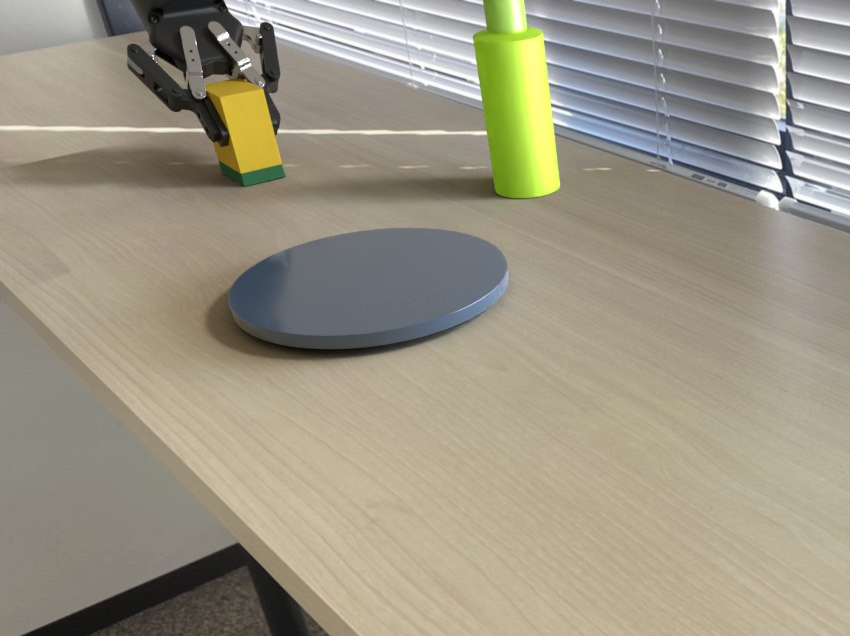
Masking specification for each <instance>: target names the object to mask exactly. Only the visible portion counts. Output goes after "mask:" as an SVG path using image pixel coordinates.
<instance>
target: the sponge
mask: <svg viewBox="0 0 850 636" xmlns="http://www.w3.org/2000/svg"><path fill="white" fill-rule="evenodd" d="M204 84H205V89H206V94H207V95H206V97H207V99H211V100H212V102H213V104H214V106H215V108H216V110H217V112H218V113H219V115H220V117H221V119H222V121H223V123H224V125H225V126H226V128H227V130H228V133H229V145H228V146H225V147H220V146H219V144H218V142H212V143H213V147H214V150H215V154H216V157H217V160H218V164H219V167H220V172H221V174H223V175H224V176H226V177H228V178H229V179H231V180H233V181H235V182H236V183H238V184H239V185H241V186H243V187H249V186H253V185H257V184H261V183H265V181H266V182H269V181H268V180H270V181H273V180H272V179H274V180H277V179H276V178H278V179H280V178H279V177H282V178H284V177H283V176H285V177H286V173H285V170H284V165H283V161H282V158H281V154H280V150H279V146H278V141H277V138H276V136H275V134H274V130H273V126H272V122H271V118H270V114H269V110H268V106H267V102H266V98H265V94H264V90H263V89H262V88H260V87H258V86H256V85H254V84H252V83H249V82H247V81H245V80H243V79H241V78H239V79H237V78H235V79H225V80H220V81H214V82H210V83H204Z"/></svg>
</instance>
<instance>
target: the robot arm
mask: <svg viewBox="0 0 850 636" xmlns="http://www.w3.org/2000/svg"><path fill="white" fill-rule="evenodd" d="M129 1H130V3H131V6H132V7H133V8H134V11H135V12H136V15H137V16H138V18H139V20H140V22H141V24H142V25H143V28H144V29H145V31H146V32H147V34H148V41H147V42H145V43H143V44H141V45H139V44H138V43H129V44H128V45H127V46H126V67H127V69H128V71H130V72H131V73H132V74H133V75H134V76H135V77H136V78H137V79H138V80H139V81H140V82H141V83H142V84H143V85H144V86H145V87H146V88H147V89H148V90H150V91H151V92H152V94H153V95H155V96H156V97H157V99H158V100H159V101H160V102H162V104H164V105H165V106H166V108H168V109H169V110H170V111H171V112H174V113H180V112H181V111H182V110H183V111H190V112H192V113H193V114H194V115H195V116H196V118H197V119H198V121H199V123H200V125H201V127H202V128H203V131H204V133H205V135H206V136H207V138H208V139H209V140H210V141H211V142H212V143H213V142H218V144H219V146H220V147H225V146H228V145H229V133H228V130H227V128H226V126H225V125H224V123H223V121H222V119H221V117H220V115H219V113H218V112H217V110H216V108H215V106H214V104H213V102H212V100H211V99H207V97H206V95H207V94H206V89H205V84H206V83H205V80H204V79H207V78H209V77H212V76H214V75H215V76H223V75H225V77H226V78H227V79H228V80H230V79H235V78H237V79H239V78H241V79H243V80H245V81H247V82H249V83H252V84H254V85H256V86H258V87H260V88H262V89H263V90H264V94H265V98H266V102H267V106H268V110H269V114H270V118H271V122H272V126H273V130H274V134H275V137H276V136H277V135H278V131H279V129H280V124H281V113H280V112H279V110H278V107H277V106H276V104H275V102H274V100H273V98H272V96H271V95H270V94H275V93H277V92H278V90H279V82H280V78H281V67H280V61H279V54H278V48H277V41H276V34H275V28H274V26H273V24H272V23H270V22H268V21H262V22H261V23H260V26H249V25H243V23H242V22H241V20H239V19H238V18H237V17H235V16H234V15H233V13H232V12H230V10H229V8H228V7H227V3H226V1H225V0H129ZM243 41H245V42H247V43H248V44H249V45H250V48H251V49H252V51H253V52H254V53H255V54H257V55H258V54H259V59H260V65H261V66H260V69H261V74H260V73H259V72H258V71H257V70H256V69H255V67H254V66H253V65H252V63H251V60H250V58H249V57H248V55H247V54H246V53H245V52H244V50H242V44H243ZM159 59H160V60H162V61H164V62H166V64H169V65H170V66H172V67H173V68H176V69H177V70H179V71H180V72H181V73H182V78H183V83H184V88H182V86H181V85H180V84H179V83H177V81H176V80H174V78H173V77H172V76H170V74H168V73H167V71H166V70H165V69H164V68H163V67H162V66H160V65H159Z"/></svg>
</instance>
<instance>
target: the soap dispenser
mask: <svg viewBox="0 0 850 636" xmlns="http://www.w3.org/2000/svg"><path fill="white" fill-rule="evenodd" d="M482 3H483V4H482V5H483V12H484V19H485V26H486V28H485V29H482V30H480V31H478V32H475V33H474V34H473V35H472V42H473V48H474V55H475V62H476V69H477V74H478V83H479V89H480V90H479V91H480V95H481V102H482V109H483V117H484V123H485V130H486V137H487V144H488V149H489V151H488V152H489V157H490V164H491V165H490V166H491V171H492V177H493V184H494V185H493V186H494V191H495V192H496V194H498V196H501V197H505V198H509V199H535V198H540V197H544V196H549V195H551V194H552V193H555V192H556V191H558V190H559V189H560V188H561V180H560V171H559V165H558V164H559V163H558V154H557V145H556V144H557V143H556V136H555V128H554V127H555V126H554V118H553V109H552V101H551V93H550V92H551V91H550V83H549V73H548V65H547V57H546V49H545V39H544V32H543V30H542V29H540V28H537V27H533V26H528V23H527V21H528V20H527V14H526V6H525V0H482Z"/></svg>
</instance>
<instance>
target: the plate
mask: <svg viewBox="0 0 850 636" xmlns="http://www.w3.org/2000/svg"><path fill="white" fill-rule="evenodd" d="M509 283H510V271H509V263H508V261H507V257H506V256H505V254H504V253H503V251H502V250H500V249H499V247H497V246H496V245H494V244H493V243H491V242H489V241H488V240H487V239H486V240H485V239H483V238H481V237H478V236H476V235H472V234H468V233H465V232H460V231H455V230H449V229H441V228H430V227H429V228H428V227H388V228H375V229H367V230H359V231H358V230H357V231H352V232H351V231H350V232H345V233H340V234H336V235H331V236H326V237H323V238H318V239H313V240H311V241H307V242H304V243H301V244H297V245H294V246H292V247H289V248H286V249H283V250H280V251H279V252H276V253H274V254H272V255H270V256H268V257H265V258H264V259H262V260H260V261H258V262H256V263H255V264H254V265H252V266H250V267H249V268H248V269H246V270H245V271H244V272H242V273H241V274H240V276H238V277H237V278H236V280H235V281H234V282H233V283H232V285H231V287H230V289H229V290H228V296H227V300H228V306H229V309H230V311H231V315H232V318H233V320H234V322H235V323H236V325H237V326H238V327H240V329H241V330H243V331H244V332H246V334H249V335H250V336H252V337H255V338H257V339H260V340H262V341H265V342H269V343H272V344H276V345H280V346H287V347H291V348H299V349H300V348H302V349H312V350H313V349H314V350H349V349H362V348H369V347H370V348H371V347H378V346H387V345H390V344H391V345H392V344H398V343H401V342H406V341H412V340H415V339H420V338H424V337H427V336H430V335H434V334H437V333H440V332H442V331H443V332H444V331H445V330H449V329H450V328H451V329H452V328H453V327H456V326H458V325H460V324H462V323H464V322H465V323H466V322H467V321H469V320H471V319H473V318H475V317H476V316H478V315H480V314H481V313H483V312H485V311H487V310H488V309H489V308H490V307H492V306H493V305H494V304H495V303H496V302H497V301H499V299H500V298H502V296H503V295H504V293H505V292H506V291H507V288H508V285H509Z"/></svg>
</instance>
